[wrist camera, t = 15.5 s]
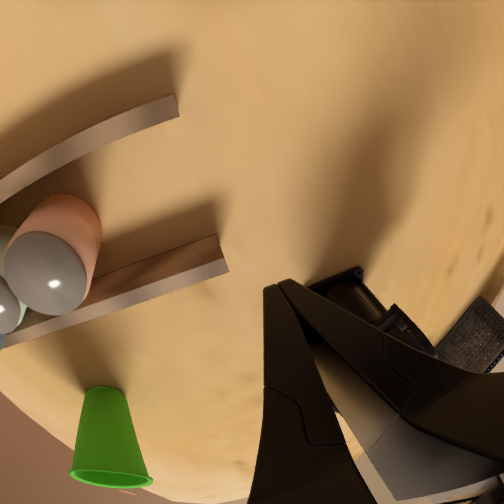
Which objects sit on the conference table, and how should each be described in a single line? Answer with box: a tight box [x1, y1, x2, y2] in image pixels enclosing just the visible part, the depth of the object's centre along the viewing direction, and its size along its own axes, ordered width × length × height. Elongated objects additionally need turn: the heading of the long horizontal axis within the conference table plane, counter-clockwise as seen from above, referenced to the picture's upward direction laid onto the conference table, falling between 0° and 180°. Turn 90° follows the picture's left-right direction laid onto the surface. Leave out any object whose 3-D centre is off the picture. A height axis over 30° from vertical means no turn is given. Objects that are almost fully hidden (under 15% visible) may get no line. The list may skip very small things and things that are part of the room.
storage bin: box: [435, 297, 504, 373], centre depth 49 cm, size 29×19×13 cm
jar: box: [4, 193, 102, 315], centre depth 15 cm, size 6×6×5 cm
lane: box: [0, 94, 229, 349], centre depth 15 cm, size 27×11×4 cm, turn 102°
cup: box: [69, 386, 153, 488], centre depth 23 cm, size 9×9×11 cm
